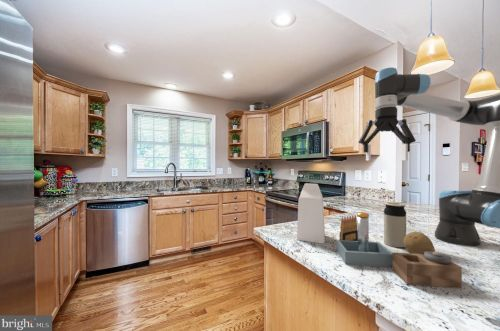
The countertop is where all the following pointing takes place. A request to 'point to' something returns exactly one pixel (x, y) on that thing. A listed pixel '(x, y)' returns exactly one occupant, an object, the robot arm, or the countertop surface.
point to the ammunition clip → (349, 229)
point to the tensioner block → (427, 269)
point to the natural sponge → (417, 243)
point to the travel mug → (394, 224)
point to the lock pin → (363, 232)
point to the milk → (311, 215)
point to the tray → (364, 254)
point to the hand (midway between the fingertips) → (386, 160)
